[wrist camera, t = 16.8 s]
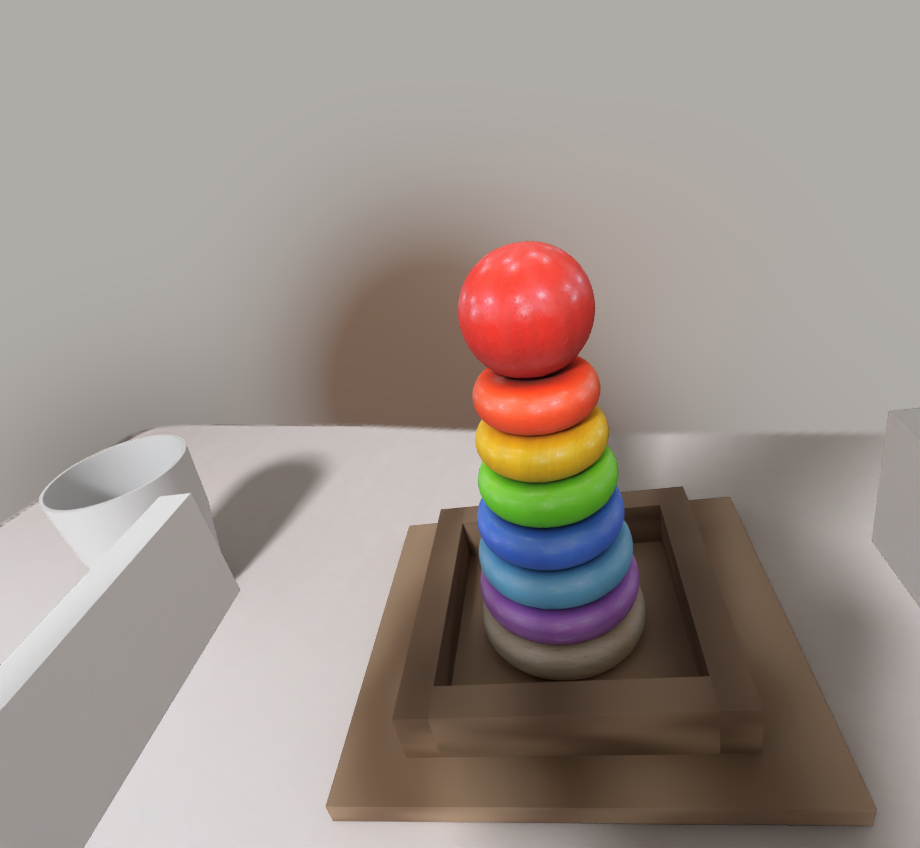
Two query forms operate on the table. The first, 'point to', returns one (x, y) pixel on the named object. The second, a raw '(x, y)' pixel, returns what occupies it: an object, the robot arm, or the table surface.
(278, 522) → the table surface
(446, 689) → the walnut jig
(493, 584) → the stacking toy
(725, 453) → the table surface
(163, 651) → the robot arm
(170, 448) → the cup
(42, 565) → the table surface
